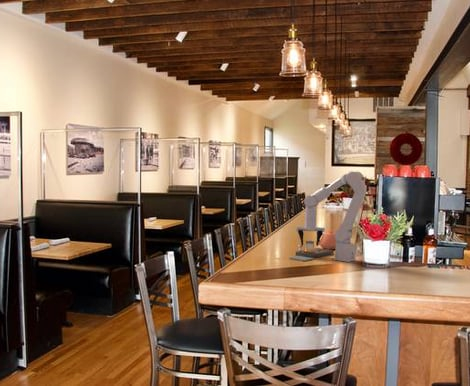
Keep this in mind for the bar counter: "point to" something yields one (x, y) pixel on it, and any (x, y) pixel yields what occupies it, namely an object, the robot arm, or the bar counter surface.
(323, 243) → the sugar bowl
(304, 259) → the mat
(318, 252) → the grey lever panel
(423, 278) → the bar counter surface
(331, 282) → the bar counter surface
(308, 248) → the plug
